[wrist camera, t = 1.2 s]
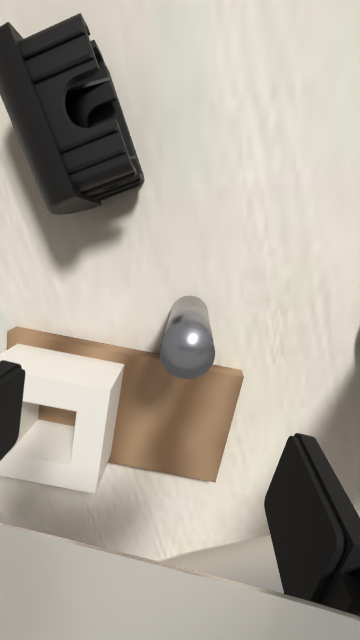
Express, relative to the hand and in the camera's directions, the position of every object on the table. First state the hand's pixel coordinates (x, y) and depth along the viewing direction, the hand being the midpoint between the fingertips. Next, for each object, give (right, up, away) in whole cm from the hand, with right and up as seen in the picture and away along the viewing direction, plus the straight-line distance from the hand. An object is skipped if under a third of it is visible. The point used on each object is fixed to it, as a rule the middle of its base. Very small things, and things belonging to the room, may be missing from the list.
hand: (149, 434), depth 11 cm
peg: (+2, +4, +18) cm, 19 cm away
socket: (-10, -4, +19) cm, 22 cm away
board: (-5, -4, +21) cm, 22 cm away
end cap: (-7, +18, +15) cm, 25 cm away
